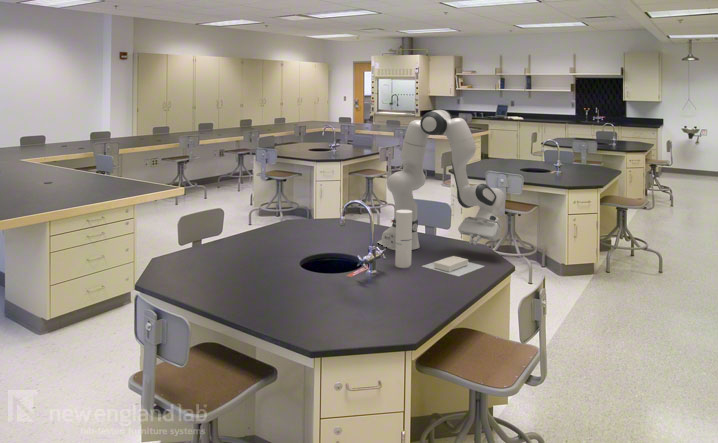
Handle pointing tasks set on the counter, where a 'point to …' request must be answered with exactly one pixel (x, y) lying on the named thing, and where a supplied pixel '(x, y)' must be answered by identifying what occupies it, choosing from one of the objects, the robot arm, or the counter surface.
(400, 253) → the cylindrical container
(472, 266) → the mat
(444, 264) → the tile
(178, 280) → the counter surface
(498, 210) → the robot arm
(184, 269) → the counter surface
